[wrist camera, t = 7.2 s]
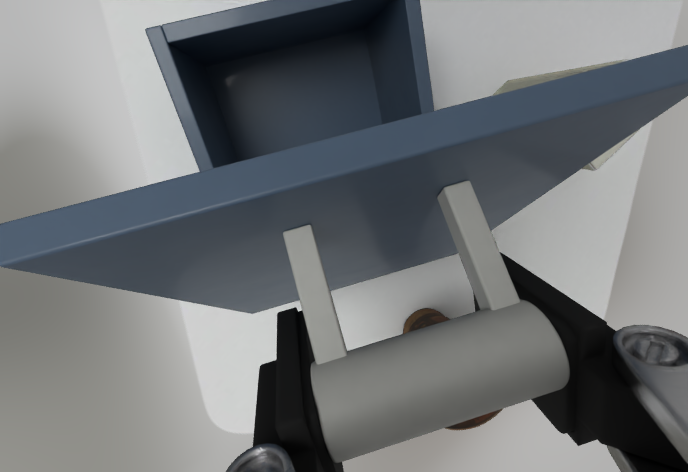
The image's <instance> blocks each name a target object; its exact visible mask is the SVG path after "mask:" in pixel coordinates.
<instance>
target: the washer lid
mask: <svg viewBox="0 0 688 472" xmlns="http://www.w3.org/2000/svg"><path fill="white" fill-rule="evenodd" d="M687 96H688V45H686V46H682V47H678V48H675V49H670V50H667V51H663V52H659V53H655V54H651V55H647V56H644V57H640V58H636V59H632V60H628V61H624V62H620V63H617V64H613V65H609V66H605V67H601V68H597V69H594V70H590V71H586V72H582V73H578V74H574V75H570V76H567V77H563V78H559V79H555V80H551V81H547V82H544V83H540V84H536V85H532V86H528V87H524V88H520V89H517V90H513V91H509V92H505V93H501V94H497V95H494V96H490V97H486V98H482V99H478V100H474V101H470V102H467V103H463V104H459V105H455V106H451V107H447V108H444V109H440V110H436V111H432V112H428V113H424V114H420V115H417V116H413V117H409V118H405V119H401V120H397V121H394V122H390V123H386V124H382V125H378V126H374V127H370V128H367V129H363V130H359V131H355V132H351V133H347V134H344V135H340V136H336V137H332V138H328V139H324V140H320V141H317V142H313V143H309V144H305V145H301V146H297V147H294V148H290V149H286V150H282V151H278V152H274V153H270V154H267V155H263V156H259V157H255V158H251V159H247V160H244V161H240V162H236V163H232V164H228V165H224V166H220V167H217V168H213V169H209V170H205V171H201V172H197V173H194V174H190V175H186V176H182V177H178V178H174V179H170V180H167V181H163V182H159V183H155V184H151V185H147V186H144V187H140V188H136V189H132V190H128V191H124V192H121V193H117V194H113V195H109V196H105V197H101V198H97V199H94V200H90V201H86V202H82V203H79V204H74V205H71V206H67V207H63V208H60V209H55V210H52V211H48V212H44V213H40V214H36V215H32V216H28V217H25V218H21V219H17V220H13V221H9V222H5V223H2V224H0V266H1V267H4V268H9V269H15V270H20V271H26V272H31V273H36V274H42V275H47V276H52V277H58V278H63V279H69V280H74V281H79V282H85V283H90V284H95V285H101V286H106V287H112V288H117V289H122V290H128V291H133V292H138V293H144V294H149V295H155V296H160V297H165V298H171V299H176V300H181V301H187V302H192V303H197V304H203V305H208V306H214V307H219V308H224V309H230V310H235V311H240V312H246V313H251V314H253V313H257V312H260V311H263V310H267V309H270V308H274V307H277V306H281V305H284V304H287V303H291V302H294V301H298V300H300V303H301V307H302V311H303V315H304V319H305V323H306V326H307V330H308V334H309V338H310V342H311V346H312V350H313V354H314V358H315V361H314V362H313V363H312V364H311V368H310V375H311V384H312V390H313V396H314V401H315V406H316V410H317V415H318V419H319V423H320V427H321V431H322V434H323V438H324V441H325V444H326V447H327V450H328V453H329V455H330V457H331V459H332V460H333V462H335V463H340V462H342V461H346V460H349V459H352V458H355V457H358V456H360V455H364V454H367V453H370V452H373V451H376V450H379V449H382V448H385V447H388V446H391V445H394V444H397V443H400V442H403V441H406V440H409V439H412V438H415V437H418V436H421V435H424V434H427V433H430V432H433V431H436V430H439V429H442V428H445V427H448V426H451V425H454V424H457V423H460V422H463V421H467V420H470V419H473V418H476V417H479V416H482V415H485V414H488V413H491V412H494V411H497V410H500V409H503V408H506V407H508V406H512V405H515V404H518V403H521V402H524V401H527V400H530V399H533V398H536V397H539V396H542V395H545V394H548V393H551V392H554V391H557V390H560V389H562V388H563V387H565V385H566V384H567V383H568V380H569V376H570V367H569V361H568V357H567V354H566V351H565V348H564V346H563V343H562V341H561V339H560V337H559V335H558V333H557V331H556V330H555V328H554V327H553V325H552V324H551V322H550V321H549V320H548V318H547V317H546V316H545V315H544V314H543V313H542V312H541V311H540V310H539V309H538V308H537V307H536V306H535V305H533V304H532V303H530V302H528V301H525V300H520V299H519V297H518V295H517V292H516V290H515V288H514V285H513V283H512V280H511V278H510V276H509V273H508V271H507V268H506V266H505V264H504V261H503V259H502V257H501V254H500V252H499V249H498V247H497V245H496V242H495V240H494V237H493V235H492V233H491V230H492V229H494V228H495V227H497V226H498V225H500V224H501V223H503V222H504V221H505V220H507V219H508V218H510V217H511V216H513V215H514V214H516V213H517V212H519V211H520V210H522V209H523V208H524V207H526V206H527V205H529V204H530V203H532V202H533V201H535V200H536V199H538V198H539V197H541V196H542V195H543V194H545V193H546V192H548V191H549V190H551V189H552V188H554V187H555V186H557V185H558V184H560V183H561V182H562V181H564V180H565V179H567V178H568V177H570V176H571V175H573V174H574V173H576V172H577V171H579V170H580V169H581V168H583V167H584V166H586V165H587V164H589V163H590V162H592V161H593V160H595V159H596V158H598V157H599V156H600V155H602V154H603V153H605V152H606V151H608V150H609V149H611V148H612V147H614V146H615V145H617V144H618V143H619V142H621V141H622V140H624V139H625V138H627V137H628V136H630V135H631V134H633V133H634V132H636V131H637V130H638V129H640V128H641V127H643V126H644V125H646V124H647V123H649V122H650V121H652V120H653V119H654V118H656V117H657V116H659V115H660V114H662V113H663V112H665V111H666V110H668V109H669V108H670V107H672V106H674V105H675V104H676V103H678V102H679V101H681V100H682V99H684V98H685V97H687ZM457 253H459V255H460V258H461V261H462V263H463V266H464V268H465V271H466V273H467V276H468V279H469V281H470V284H471V286H472V289H473V292H474V294H475V297H476V299H477V302H478V304H479V307H480V311H477V312H473V313H470V314H467V315H464V316H460V317H457V318H454V319H451V320H447V321H444V322H441V323H438V324H434V325H431V326H428V327H425V328H421V329H418V330H415V331H412V332H408V333H405V334H402V335H399V336H395V337H392V338H389V339H386V340H382V341H379V342H376V343H373V344H369V345H366V346H363V347H360V348H356V349H353V350H350V351H347V349H346V346H345V342H344V339H343V335H342V332H341V328H340V324H339V321H338V317H337V314H336V310H335V307H334V303H333V299H332V296H331V292H330V291H332V290H335V289H338V288H342V287H345V286H349V285H352V284H356V283H359V282H362V281H366V280H369V279H373V278H376V277H379V276H383V275H386V274H390V273H393V272H396V271H400V270H403V269H407V268H410V267H414V266H417V265H420V264H424V263H427V262H431V261H434V260H437V259H441V258H444V257H448V256H451V255H454V254H457Z"/></svg>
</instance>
